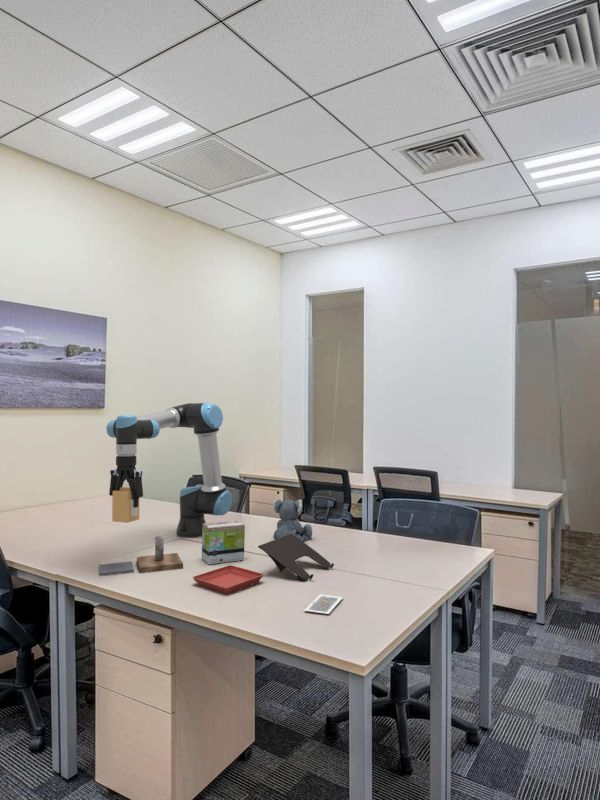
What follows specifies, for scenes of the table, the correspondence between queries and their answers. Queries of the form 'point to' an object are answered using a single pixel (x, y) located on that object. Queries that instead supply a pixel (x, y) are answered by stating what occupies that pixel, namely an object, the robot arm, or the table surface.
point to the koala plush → (290, 520)
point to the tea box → (223, 542)
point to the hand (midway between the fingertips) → (125, 515)
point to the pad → (116, 568)
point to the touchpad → (323, 604)
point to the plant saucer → (228, 578)
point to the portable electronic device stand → (292, 555)
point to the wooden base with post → (159, 559)
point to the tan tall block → (123, 506)
